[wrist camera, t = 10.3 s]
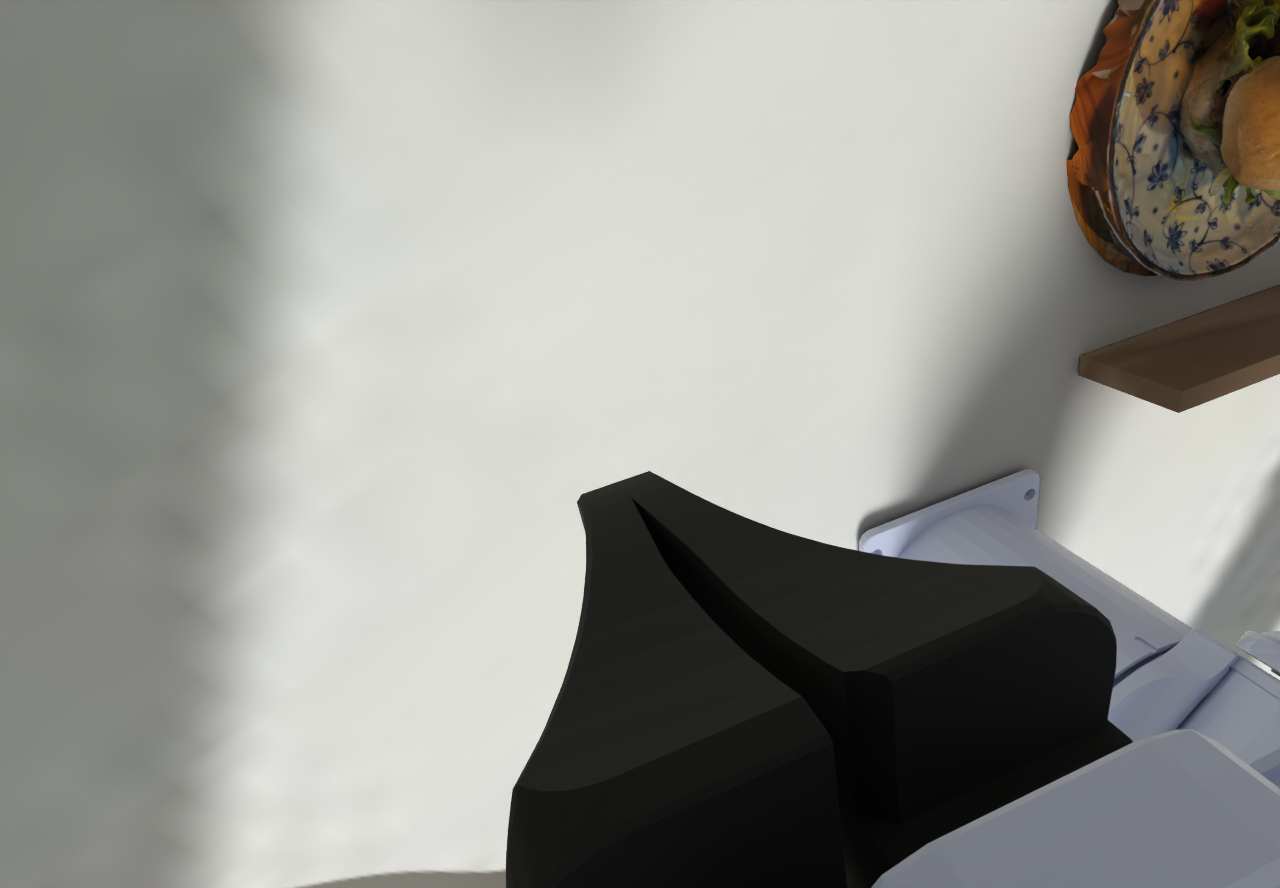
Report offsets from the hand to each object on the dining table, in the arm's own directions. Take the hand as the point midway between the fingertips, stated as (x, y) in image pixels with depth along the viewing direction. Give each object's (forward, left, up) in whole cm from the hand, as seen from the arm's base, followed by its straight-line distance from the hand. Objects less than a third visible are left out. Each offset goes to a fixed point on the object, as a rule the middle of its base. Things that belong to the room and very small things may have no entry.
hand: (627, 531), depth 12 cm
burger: (+2, -24, -10) cm, 27 cm away
